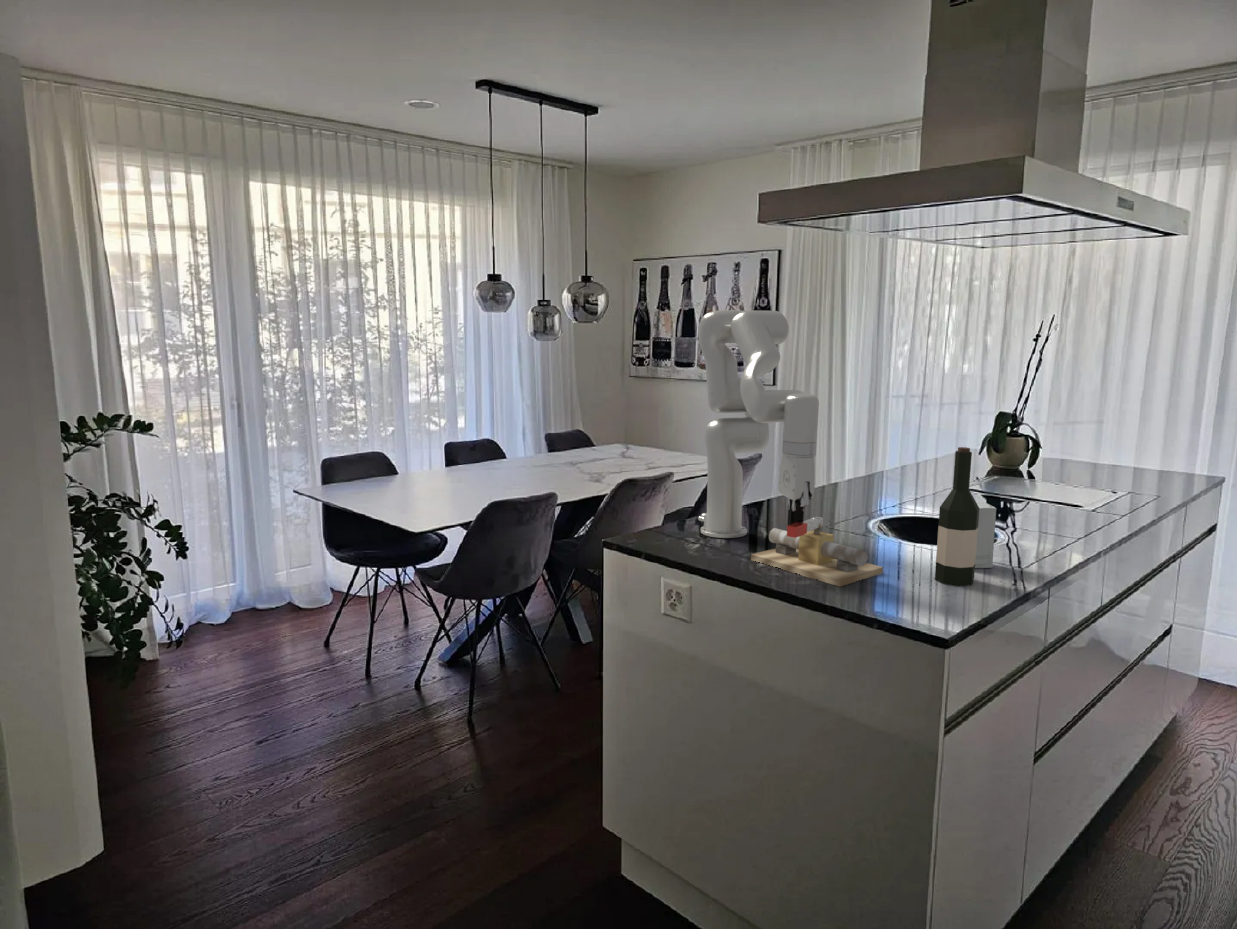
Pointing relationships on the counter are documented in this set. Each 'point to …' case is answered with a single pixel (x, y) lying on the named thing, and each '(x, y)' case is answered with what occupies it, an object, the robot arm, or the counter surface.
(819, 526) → the valve lever
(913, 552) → the counter surface
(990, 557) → the skincare box
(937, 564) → the wine bottle
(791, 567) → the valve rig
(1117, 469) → the counter surface
